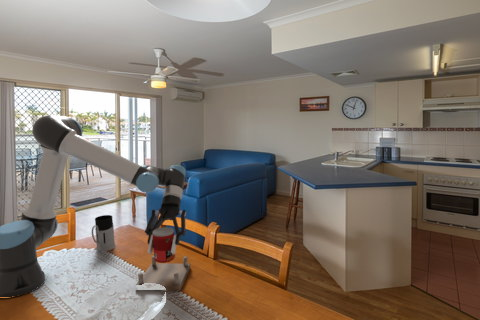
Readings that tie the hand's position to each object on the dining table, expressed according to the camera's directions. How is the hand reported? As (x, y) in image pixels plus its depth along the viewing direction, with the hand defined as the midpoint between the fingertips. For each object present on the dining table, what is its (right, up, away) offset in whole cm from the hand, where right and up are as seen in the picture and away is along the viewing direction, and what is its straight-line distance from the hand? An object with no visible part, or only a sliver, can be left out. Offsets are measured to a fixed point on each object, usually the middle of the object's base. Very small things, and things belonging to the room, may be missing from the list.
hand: (161, 253), depth 102 cm
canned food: (0, -4, +4) cm, 5 cm away
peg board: (0, -11, +5) cm, 12 cm away
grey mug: (-36, -9, +31) cm, 49 cm away
